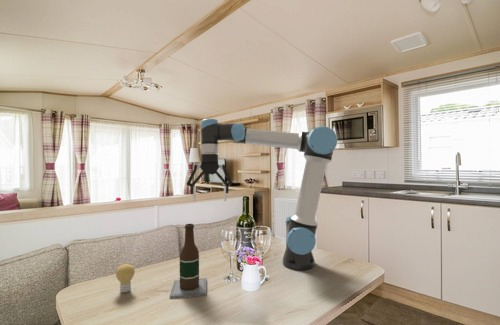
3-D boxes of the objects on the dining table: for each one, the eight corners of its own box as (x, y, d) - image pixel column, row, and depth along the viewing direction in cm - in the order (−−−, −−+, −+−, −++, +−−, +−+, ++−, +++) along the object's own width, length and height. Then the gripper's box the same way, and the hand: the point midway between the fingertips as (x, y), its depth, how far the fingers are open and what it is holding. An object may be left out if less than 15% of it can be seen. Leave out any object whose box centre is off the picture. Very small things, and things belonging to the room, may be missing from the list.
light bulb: (131, 285, 105) (130, 260, 105) (137, 291, 100) (137, 264, 100) (113, 291, 100) (113, 264, 100) (119, 297, 96) (119, 269, 96)
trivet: (206, 280, 109) (206, 278, 109) (206, 295, 96) (206, 293, 96) (174, 282, 107) (174, 280, 107) (169, 298, 94) (169, 295, 94)
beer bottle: (194, 292, 97) (194, 227, 97) (175, 290, 99) (175, 226, 99) (202, 282, 105) (202, 222, 105) (184, 281, 106) (184, 221, 107)
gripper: (236, 154, 124) (236, 199, 124) (182, 154, 120) (182, 200, 120) (238, 153, 117) (238, 201, 116) (180, 153, 113) (180, 202, 113)
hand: (209, 201), depth 118 cm, fingers open, 13 cm apart
